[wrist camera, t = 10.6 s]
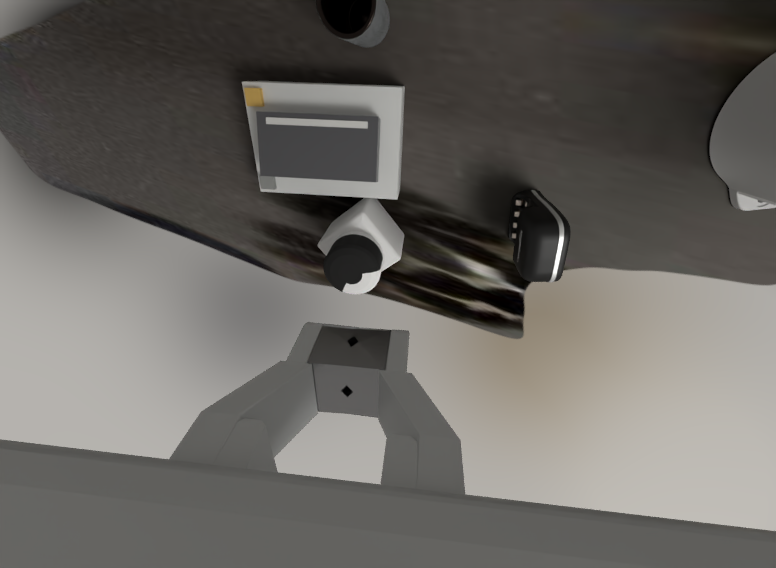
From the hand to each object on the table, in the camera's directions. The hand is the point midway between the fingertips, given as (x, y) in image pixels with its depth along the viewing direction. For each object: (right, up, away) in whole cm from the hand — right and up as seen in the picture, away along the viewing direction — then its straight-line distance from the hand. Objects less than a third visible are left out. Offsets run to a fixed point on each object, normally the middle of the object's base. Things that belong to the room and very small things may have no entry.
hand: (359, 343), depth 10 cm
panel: (-5, +19, +29) cm, 35 cm away
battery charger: (+17, +10, +32) cm, 38 cm away
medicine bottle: (-2, +9, +35) cm, 36 cm away
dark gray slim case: (-6, +16, +24) cm, 30 cm away
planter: (-1, +28, +23) cm, 36 cm away
